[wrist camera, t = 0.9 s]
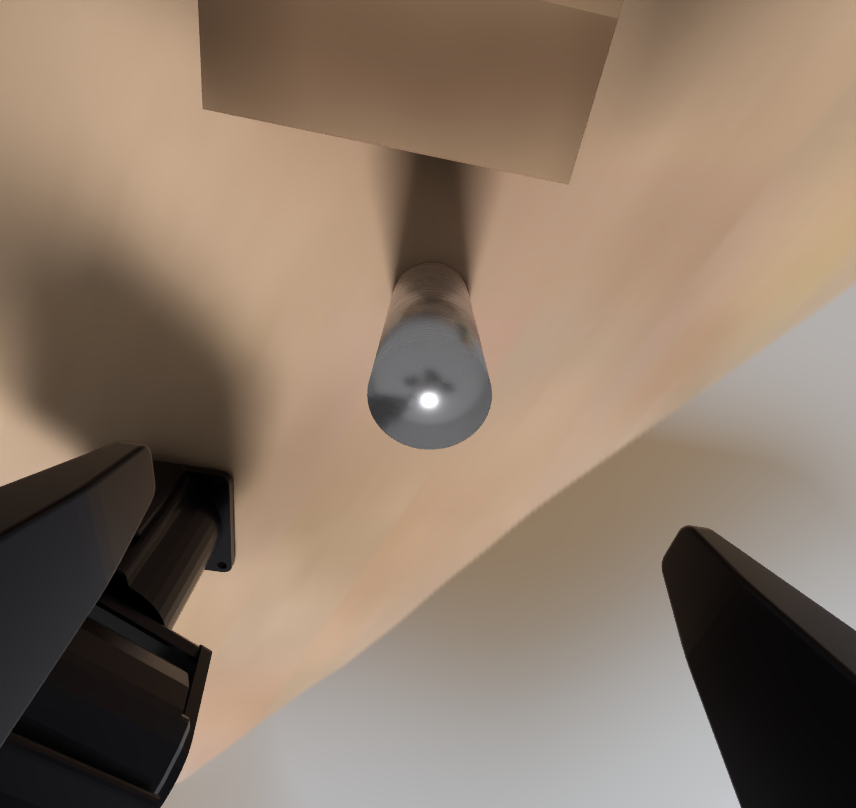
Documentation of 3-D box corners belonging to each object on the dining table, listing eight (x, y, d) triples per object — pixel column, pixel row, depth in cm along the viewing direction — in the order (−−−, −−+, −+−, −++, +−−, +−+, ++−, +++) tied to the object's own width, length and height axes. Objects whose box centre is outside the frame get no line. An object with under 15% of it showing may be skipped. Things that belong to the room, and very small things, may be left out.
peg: (460, 343, 19) (475, 457, 12) (387, 330, 19) (361, 439, 12) (476, 270, 18) (506, 351, 11) (398, 255, 17) (375, 328, 10)
